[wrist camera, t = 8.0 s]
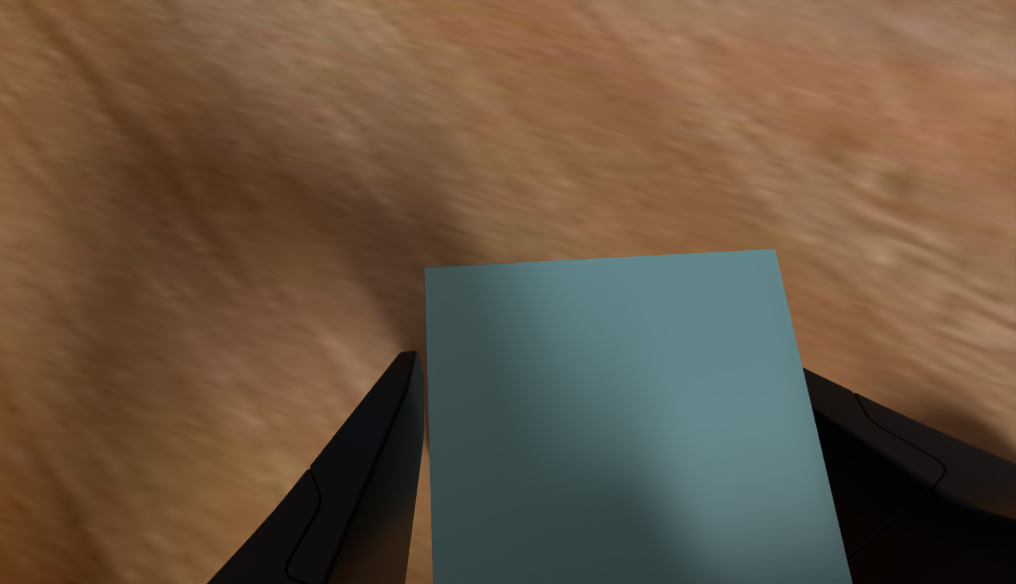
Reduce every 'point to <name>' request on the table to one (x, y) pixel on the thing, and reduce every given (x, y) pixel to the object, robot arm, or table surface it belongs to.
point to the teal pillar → (623, 425)
